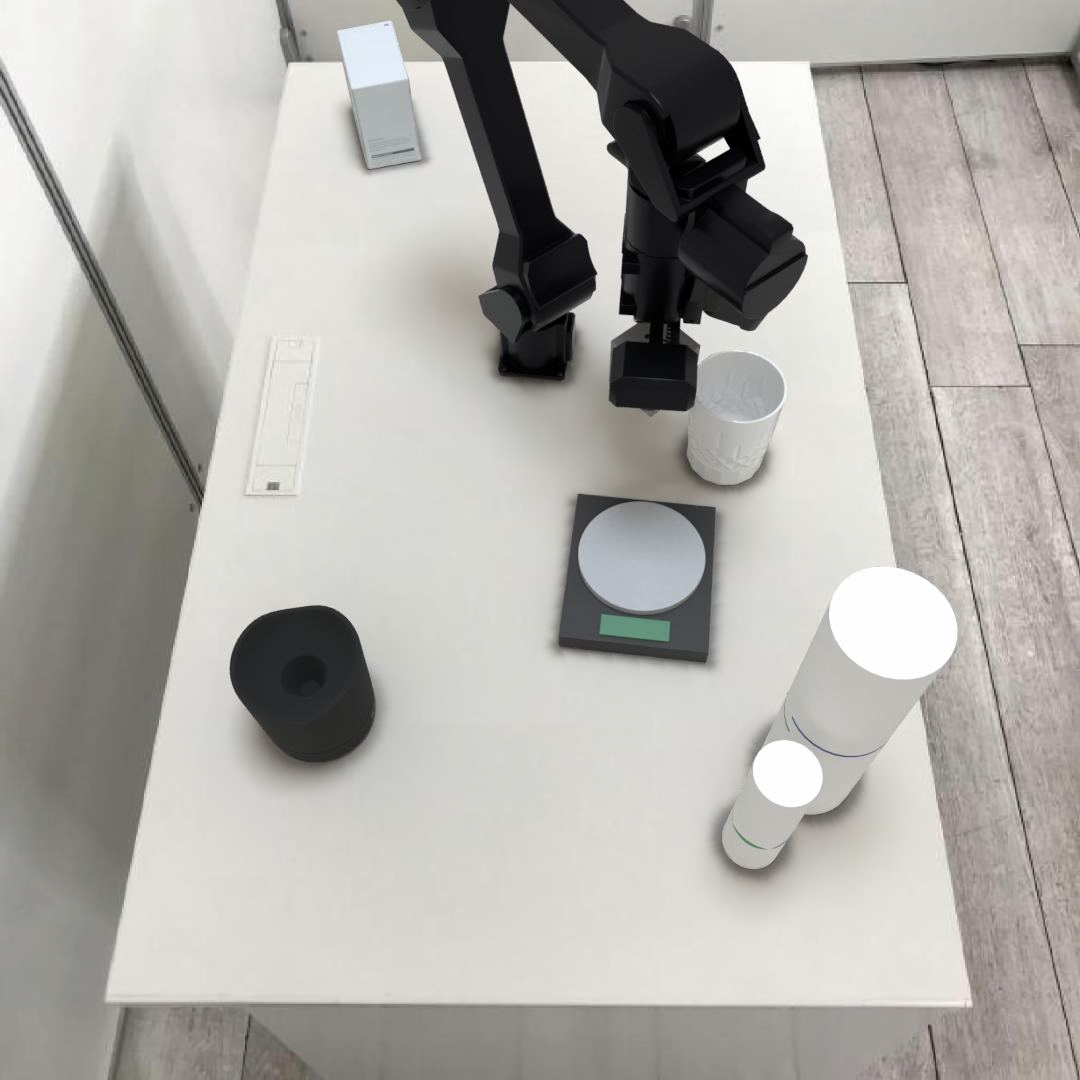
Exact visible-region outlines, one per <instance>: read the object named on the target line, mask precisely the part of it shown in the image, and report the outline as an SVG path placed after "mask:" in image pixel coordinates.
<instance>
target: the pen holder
mask: <svg viewBox="0 0 1080 1080" xmlns="http://www.w3.org/2000/svg"><path fill="white" fill-rule="evenodd" d="M362 646H363V645H362V642H361V640H360V636H359V634H358V631H357V629H356V627H355V626H354V624H353V623H352V622H351V620H350V619H349V618H348V617H347V616H346V615H344V614H343V613H342V612H341V611H339V610H337V609H335V608H334V607H330V606H327V605H321V604H313V605H303V606H296V607H290V608H284V609H278V610H273V611H269V612H267V613H264V614H262V615H260V616H258V617H257V618H255V619H254V620H253V621H251V622H250V623H249V624H248V625H246V627H245V628H244V629H243V630H242V632H241V633H240V635H239V636H238V637H237V640H236V641H235V644H234V646H233V649H232V651H231V654H230V659H229V669H228V670H229V678H230V683H231V686H232V688H233V691H234V693H235V695H236V696H237V698H238V700H239V701H240V702H241V703H242V705H243V706H244V707H245V709H246V710H247V712H249V714H250V715H251V716H252V717H253V719H254V720H255V721H256V723H257V724H258V725H259V726H260V728H261V729H262V730H263V732H265V734H266V735H267V736H268V737H269V739H270V740H271V741H272V742H273V743H274V744H275V746H276V747H277V748H278V749H279V750H281V752H283V753H284V754H286V755H287V756H289V757H291V758H294V759H295V760H298V761H301V762H307V763H324V762H329V761H332V760H335V759H339V758H340V757H343V756H345V755H347V754H348V753H349V752H351V751H353V749H355V748H356V747H357V746H359V744H360V743H362V741H363V740H364V739H365V738H366V736H367V734H368V733H369V731H370V730H371V727H372V725H373V722H374V719H375V715H376V695H375V691H374V687H373V682H372V679H371V675H370V672H369V667H368V664H367V661H366V657H365V653H364V649H363V647H362Z"/></svg>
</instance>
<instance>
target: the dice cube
mask: <svg viewBox="0 0 1080 1080" xmlns="http://www.w3.org/2000/svg"><path fill="white" fill-rule="evenodd" d="M649 329H650V323H635V324H634V325H632V326H631V327H629V328H628V329H627V330H625V331H623V332H622V333H621V334H619V335H617V336H616V337H614V338H613V339H612V340H610V351H609V367H608V368H609V373H608V383H610V372H611V361H612V350H613V348H615V347H616V346H618V345H620V344H621V343H623V342H625V341H634V342H649ZM666 329H667V324H664V330H663V343H666V331H667V330H666ZM680 343H681V344H683V345H687V346H689V347H690V348H691V349H692V350H693V351H695V352H696V353H697V354H698V359H700V358H699V357H700V352H701V351H700V350H701V344H700V343H698V342H697V340H695V339H693V338H692V337H691V336H690V335H689V334H687V333H686V332H685V331H684V330H682V329H681V328H680ZM640 411H642V412H643V413H644V414H645V415H646V416H647V417H648V418H651V417H653V416H655V415H656V414H657V413H659V412H660V411H661V410H655V411H645V410H642V409H640Z"/></svg>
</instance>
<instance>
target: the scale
mask: <svg viewBox="0 0 1080 1080" xmlns="http://www.w3.org/2000/svg"><path fill="white" fill-rule="evenodd" d="M576 497H577V498H576V504H575V512H574V513H575V514H574V521H573V528H572V536H571V542H570V543H571V544H570V551H569V559H568V565H567V574H566V580H565V587H564V594H563V595H564V596H563V603H562V611H561V619H560V626H559V633H558V646H559V647H565V648H574V649H582V650H592V651H600V652H601V651H602V652H609V653H620V654H628V655H636V656H646V657H654V658H664V659H673V660H682V661H683V660H684V661H691V662H701V663H706V662H707V659H708V655H709V650H710V649H709V648H710V647H709V646H710V629H711V627H710V625H711V610H712V609H711V606H712V589H713V570H714V569H713V568H714V550H715V549H714V547H715V546H714V545H715V529H716V512H717V511H716V510H717V507H716V506H711V505H698V504H689V503H678V502H671V501H670V502H668V501H659V500H658V501H657V500H648V499H637V498H629V497H619V496H618V497H617V496H607V495H598V494H587V493H577V496H576Z"/></svg>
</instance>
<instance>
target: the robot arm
mask: <svg viewBox="0 0 1080 1080" xmlns="http://www.w3.org/2000/svg"><path fill="white" fill-rule="evenodd" d="M395 1H396V2H397V4H398V5H399V6H400V8H401V9H402V12H403V14H404V16H405V18H406V22H407V23H408V24H407V25H408V26H409V28H410V29H411V31H412V32H413V33H414V34H415V35H417V36H418V37H419V38H420V40H422V41H423V42H424V43H425V44H426V45H428V46H429V47H430V48H431V49H432V50H434V52H436V53H437V55H439V56H440V58H441V59H442V61H443V65H444V68H445V71H446V74H447V76H448V80H449V82H450V85H451V88H452V91H453V94H454V97H455V101H456V103H457V107H458V109H459V112H460V116H461V119H462V122H463V124H464V128H465V131H466V133H467V136H468V140H469V142H470V145H471V149H472V151H473V154H474V155H473V156H474V158H475V161H476V164H477V167H478V171H479V173H480V176H481V179H482V182H483V185H484V188H485V191H486V194H487V197H488V201H489V203H490V207H491V210H492V212H493V215H494V218H495V221H496V223H497V228H498V235H497V241H496V245H495V250H494V254H493V259H492V265H491V267H492V272H493V276H494V279H495V286H492V287H491V288H489V289H487V290H486V291H484V292H482V293H480V294H479V295H478V297H477V298H478V301H479V304H480V308H481V312H482V313H483V316H484V317H485V318H486V319H487V321H489V322H490V323H491V324H492V325H493V326H494V327H495V328H497V330H498V331H499V342H500V343H499V344H500V355H499V361H498V365H497V373H498V374H499V375H500V376H508V377H519V378H530V379H531V378H532V379H543V380H552V381H553V380H554V381H563V380H565V378H566V376H567V369H568V363H571V362H572V361H573V358H574V350H575V343H576V313H574V312H573V311H572V310H574V309H577V307H579V306H581V305H582V304H584V303H586V302H587V301H589V300H590V299H592V297H593V295H594V292H596V291H597V276H598V271H597V269H596V267H595V265H594V262H593V261H592V257H591V254H590V249H589V242H588V240H587V239H586V237H585V236H584V235H583V234H582V233H575V231H573V230H572V229H571V228H570V227H568V226H567V224H565V223H564V222H562V220H561V219H560V218H558V217H557V216H556V213H555V211H554V207H553V203H552V199H551V197H550V194H549V190H548V186H547V183H546V180H545V176H544V172H543V170H542V166H541V163H540V159H539V156H538V153H537V149H536V147H535V143H534V140H533V139H534V138H533V136H532V133H531V128H530V125H529V122H528V119H527V115H526V113H525V109H524V105H523V102H522V98H521V95H520V92H519V88H518V86H517V81H516V78H515V75H514V71H513V69H512V65H511V62H510V58H509V55H508V52H507V47H506V44H505V39H504V38H505V32H506V27H507V23H508V22H507V21H508V18H509V12H510V6H512V7H513V8H514V9H515V10H516V11H517V12H518V13H519V14H520V15H521V16H522V17H523V18H524V19H525V20H526V21H527V22H528V23H529V24H530V25H531V26H532V27H533V28H534V29H535V30H536V31H537V32H538V33H539V34H540V35H541V36H542V37H543V38H544V39H545V40H546V41H547V42H548V43H549V44H551V46H552V47H553V48H554V49H555V50H556V51H557V52H559V53H560V54H561V55H562V57H564V59H565V60H566V61H567V62H568V63H569V64H571V65H572V67H574V69H576V71H578V73H579V74H580V75H582V76H583V78H584V79H585V80H586V81H587V82H588V84H590V87H592V89H593V90H594V91H595V92H596V98H597V103H598V110H599V117H600V121H601V124H602V126H603V127H604V128H605V129H606V131H607V132H608V133H609V134H610V136H611V137H612V138H613V139H614V140H612V141H610V142H608V143H607V144H606V151H607V153H608V154H609V155H610V156H611V157H612V158H614V159H615V160H616V161H618V162H619V163H620V164H622V165H623V166H624V167H625V168H626V169H627V179H626V180H627V181H626V196H625V197H626V198H625V213H624V216H623V217H624V219H623V229H622V239H621V240H622V241H621V254H622V256H621V269H620V270H621V271H620V281H621V282H620V291H619V301H618V302H619V303H618V304H619V305H618V315H619V316H633V319H632V321H633V322H634V323H635V324H637V323H650V329H649V342H634V341H625V342H623V343H621V344H620V345H618V346H616V347H615V348H613V350H612V361H611V372H610V382H608V383H609V385H608V401H609V403H610V404H612V406H613V407H615V408H623V409H626V408H627V409H637V410H638V409H639V410H641V409H642V410H645V411H655V410H660V411H669V412H670V411H671V412H682V413H683V412H684V413H686V412H689V409H691V408H692V407H694V404H695V397H696V391H697V367H698V365H699V358H698V354H697V353H696V352H695V351H693V350H692V349H691V348H690V347H689V346H687V345H683V344H681V343H680V329H681V322H682V323H683V324H686V325H701V322H702V316H703V313H704V314H705V315H706V316H708V317H710V318H713V319H715V320H718V321H722V322H725V323H728V324H730V325H734V326H736V327H738V328H739V329H740V330H742V331H746V332H754V331H755V330H757V329H758V327H759V326H760V325H761V324H762V322H763V321H764V319H765V318H766V317H767V316H768V314H769V313H771V312H772V311H773V310H775V309H776V308H777V307H778V306H779V305H781V303H782V302H783V301H784V300H785V299H786V298H787V297H788V296H789V295H790V293H791V292H792V290H794V289H795V286H796V285H797V284H798V282H799V281H800V279H801V278H802V275H803V273H804V272H805V268H806V266H807V263H808V259H809V255H808V254H807V249H806V245H805V243H804V242H803V241H802V240H800V239H799V238H798V237H796V236H795V235H794V229H795V228H794V225H793V224H792V222H790V221H789V220H787V218H785V217H783V216H782V215H780V214H779V213H778V212H777V213H776V212H774V211H772V210H770V209H769V208H767V207H766V206H765V205H764V204H762V203H760V202H759V200H758V199H756V198H754V197H753V196H751V195H750V194H749V193H747V187H748V182H749V180H750V179H751V178H753V177H756V176H757V175H758V174H760V173H762V172H763V171H765V170H766V163H765V159H764V155H763V152H762V149H761V146H760V142H759V140H761V136H760V133H759V131H758V129H757V127H756V124H755V122H754V120H753V117H752V115H751V113H750V110H749V106H748V104H747V101H746V98H745V94H744V91H743V87H742V85H741V81H740V79H739V77H738V73H737V72H736V70H735V68H734V66H733V65H732V63H731V62H730V61H729V59H728V58H727V57H726V56H725V55H724V54H723V53H721V52H720V51H719V50H718V49H716V48H714V47H713V46H712V45H710V44H708V42H706V41H704V40H703V39H701V38H700V37H698V36H697V35H695V34H694V33H692V32H690V31H689V30H687V29H686V28H682V27H678V26H673V25H669V24H663V23H658V22H653V21H651V20H648V19H647V18H645V17H644V16H642V15H641V14H639V12H637V11H636V10H635V9H634V8H633V7H632V6H631V5H630V4H629V3H628V2H627V1H625V0H395ZM723 139H724V141H725V143H726V145H727V146H728V148H729V149H727V150H725V151H723V152H722V153H721V154H718V155H716V156H715V157H713V158H711V159H710V160H706V159H705V158H704V157H703V156H702V155H700V154H699V153H700V152H702V151H704V150H706V149H707V148H709V147H711V146H712V145H714V144H716V143H718V142H720V141H721V140H723ZM681 319H682V321H681ZM664 324H667V329H666V330H667V331H666V343H663V330H664ZM642 410H641V411H642Z"/></svg>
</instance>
